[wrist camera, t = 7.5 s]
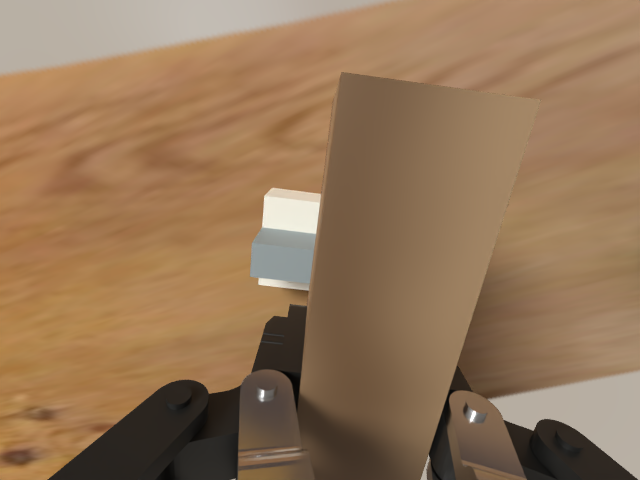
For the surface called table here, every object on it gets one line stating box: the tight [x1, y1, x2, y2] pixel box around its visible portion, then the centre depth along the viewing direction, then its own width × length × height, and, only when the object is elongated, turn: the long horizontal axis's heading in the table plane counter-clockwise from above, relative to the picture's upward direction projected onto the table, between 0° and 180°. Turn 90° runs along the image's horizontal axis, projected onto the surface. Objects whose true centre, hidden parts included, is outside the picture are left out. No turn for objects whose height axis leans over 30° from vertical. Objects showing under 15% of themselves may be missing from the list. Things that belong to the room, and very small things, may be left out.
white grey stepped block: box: [250, 188, 321, 291], centre depth 20 cm, size 10×6×6 cm, turn 83°
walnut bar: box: [296, 72, 541, 480], centre depth 10 cm, size 4×16×5 cm, turn 173°
